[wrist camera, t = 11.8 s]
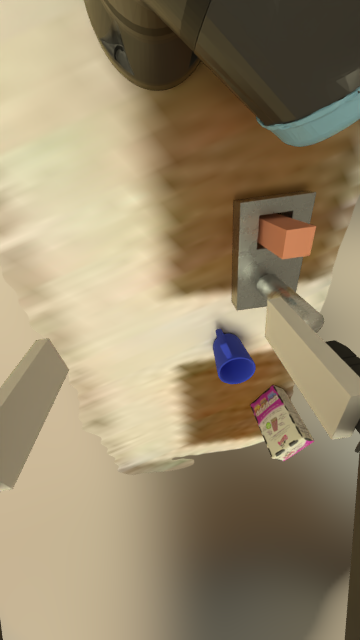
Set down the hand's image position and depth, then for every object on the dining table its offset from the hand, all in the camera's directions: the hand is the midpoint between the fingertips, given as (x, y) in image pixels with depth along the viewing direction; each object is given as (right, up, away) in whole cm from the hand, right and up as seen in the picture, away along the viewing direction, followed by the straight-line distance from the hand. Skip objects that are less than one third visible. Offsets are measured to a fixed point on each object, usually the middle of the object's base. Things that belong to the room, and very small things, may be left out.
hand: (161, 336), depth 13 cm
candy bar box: (+29, -23, +56) cm, 67 cm away
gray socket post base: (+17, +14, +30) cm, 37 cm away
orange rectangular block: (+17, +18, +27) cm, 37 cm away
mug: (+12, -3, +41) cm, 43 cm away
